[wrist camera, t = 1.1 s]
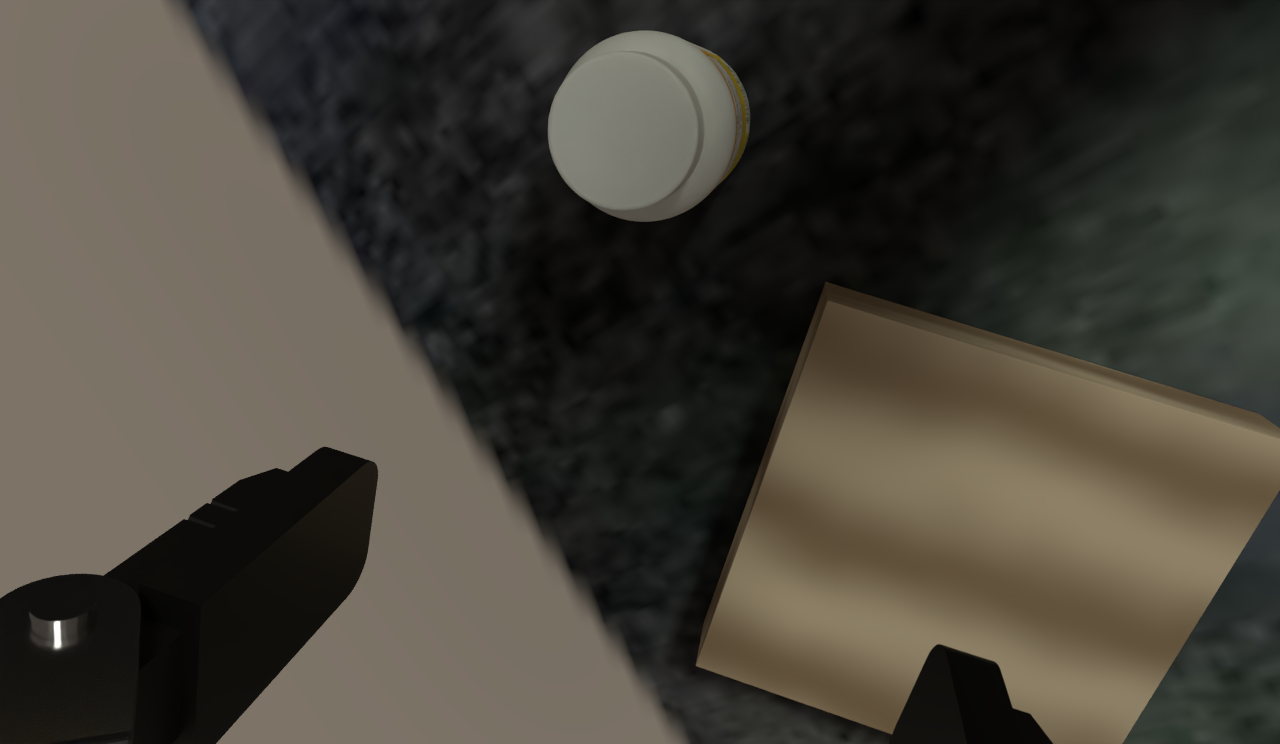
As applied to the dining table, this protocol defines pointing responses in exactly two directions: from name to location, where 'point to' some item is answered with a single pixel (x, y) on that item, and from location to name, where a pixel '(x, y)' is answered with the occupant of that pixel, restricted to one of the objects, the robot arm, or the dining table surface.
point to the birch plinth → (980, 523)
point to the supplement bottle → (648, 125)
